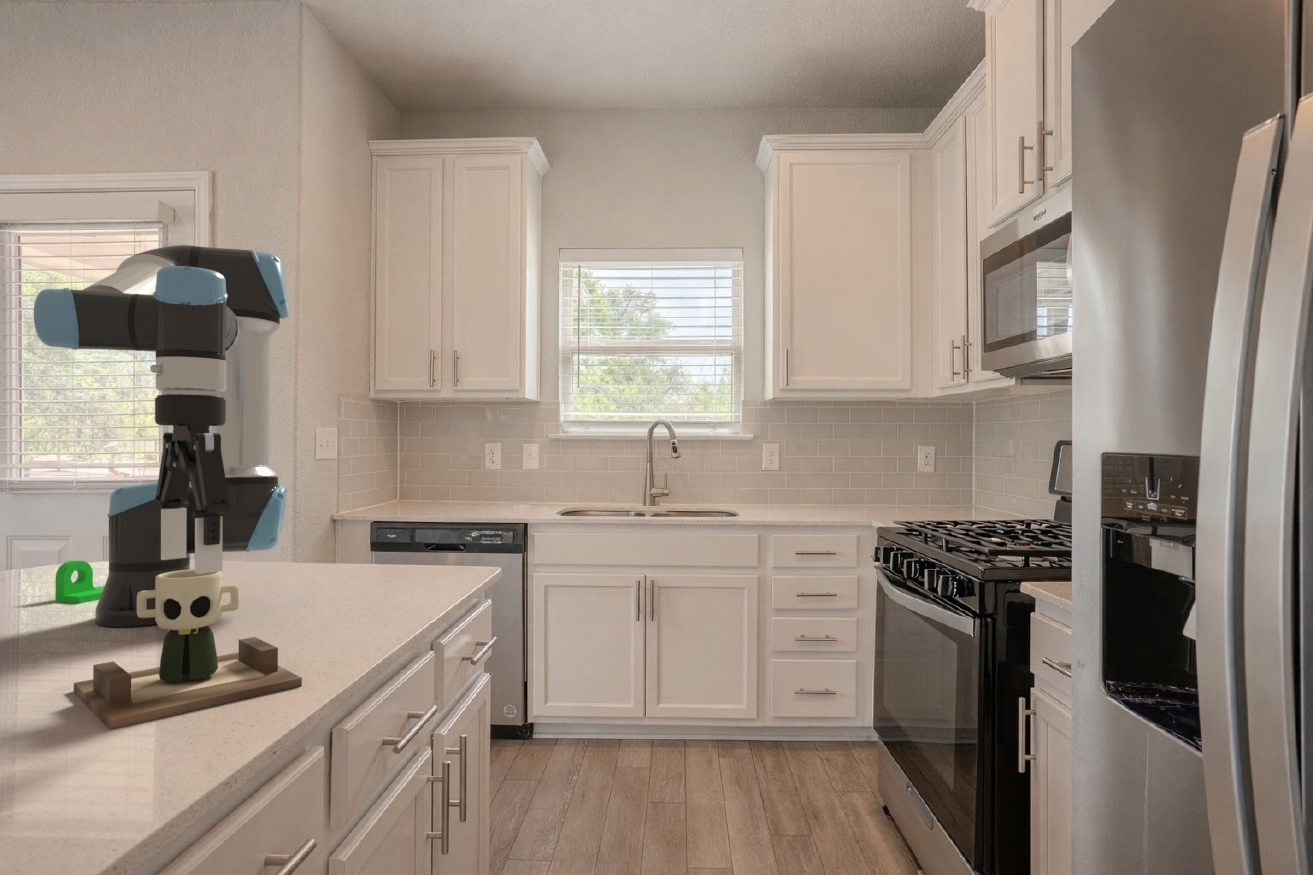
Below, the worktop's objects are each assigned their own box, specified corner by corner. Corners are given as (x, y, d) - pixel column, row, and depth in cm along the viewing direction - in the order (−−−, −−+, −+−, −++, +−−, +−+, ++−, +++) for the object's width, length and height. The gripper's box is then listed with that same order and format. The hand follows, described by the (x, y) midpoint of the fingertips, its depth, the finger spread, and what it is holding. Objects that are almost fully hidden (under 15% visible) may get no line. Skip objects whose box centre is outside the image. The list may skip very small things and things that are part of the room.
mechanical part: (79, 607, 141) (79, 564, 141) (55, 605, 143) (55, 562, 143) (140, 595, 152) (140, 554, 152) (116, 593, 154) (117, 553, 154)
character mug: (130, 692, 90) (131, 581, 90) (141, 675, 96) (142, 572, 96) (237, 680, 94) (237, 574, 94) (240, 665, 101) (240, 566, 101)
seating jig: (73, 690, 94) (73, 658, 94) (248, 657, 108) (248, 629, 108) (110, 729, 82) (110, 691, 82) (301, 685, 96) (302, 653, 96)
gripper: (128, 395, 101) (128, 556, 101) (188, 389, 84) (188, 583, 84) (192, 397, 106) (192, 550, 106) (261, 392, 89) (260, 574, 90)
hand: (190, 565), depth 95 cm, fingers open, 13 cm apart
